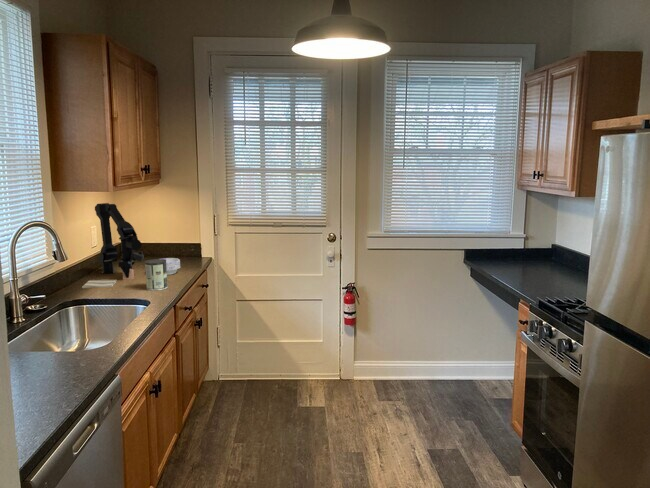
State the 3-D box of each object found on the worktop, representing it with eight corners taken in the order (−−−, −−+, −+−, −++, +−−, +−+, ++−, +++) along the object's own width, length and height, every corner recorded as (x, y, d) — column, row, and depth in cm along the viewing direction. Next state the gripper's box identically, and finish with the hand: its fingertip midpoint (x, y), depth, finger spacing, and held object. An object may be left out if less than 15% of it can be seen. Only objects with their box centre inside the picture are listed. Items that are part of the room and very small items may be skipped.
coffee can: (158, 284, 269) (157, 258, 266) (172, 287, 263) (170, 260, 261) (141, 288, 260) (140, 261, 258) (155, 291, 255) (153, 263, 252)
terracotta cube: (124, 277, 285) (124, 268, 284) (134, 277, 285) (133, 268, 285) (123, 279, 280) (122, 270, 279) (132, 279, 281) (132, 270, 280)
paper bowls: (163, 269, 304) (163, 256, 303) (185, 271, 299) (185, 258, 298) (146, 275, 290) (146, 261, 289) (169, 277, 285) (169, 263, 284)
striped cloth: (89, 281, 274) (89, 280, 274) (117, 280, 277) (117, 279, 277) (82, 288, 261) (81, 286, 261) (111, 287, 263) (111, 285, 263)
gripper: (139, 250, 272) (141, 279, 275) (145, 245, 290) (146, 272, 293) (117, 251, 270) (119, 280, 273) (124, 245, 288) (125, 273, 291)
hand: (128, 276), depth 282 cm, fingers closed on terracotta cube, 5 cm apart
